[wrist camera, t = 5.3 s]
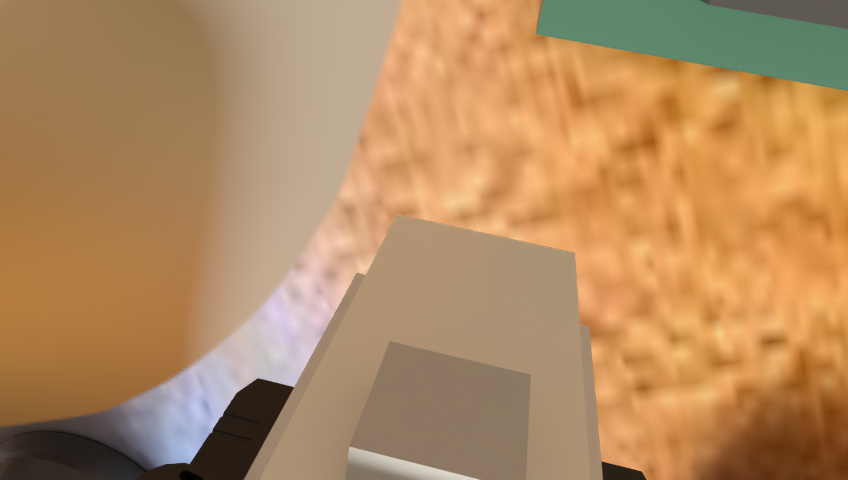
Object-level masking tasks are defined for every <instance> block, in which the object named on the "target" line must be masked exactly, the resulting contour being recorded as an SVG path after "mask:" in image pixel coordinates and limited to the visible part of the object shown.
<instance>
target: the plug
mask: <svg viewBox="0 0 848 480" xmlns="http://www.w3.org/2000/svg"><path fill="white" fill-rule="evenodd" d="M260 480H590V467H589V452H588V438H587V423H586V409H585V394H584V380H583V365H582V351H581V336H580V321H579V307H578V292H577V278H576V263H575V253H573V252H568V251H564V250H559V249H555V248H550V247H546V246H541V245H537V244H532V243H527V242H523V241H518V240H514V239H509V238H505V237H500V236H495V235H491V234H486V233H482V232H477V231H473V230H468V229H464V228H459V227H454V226H450V225H445V224H441V223H436V222H432V221H427V220H423V219H418V218H413V217H409V216H404V215H400V214H397V216H396V218H395V220H394V221H393V223H392V225H391V227H390V229H389V231H388V233H387V235H386V237H385V239H384V241H383V243H382V245H381V247H380V248H379V250H378V252H377V254H376V256H375V258H374V260H373V262H372V264H371V266H370V268H369V270H368V272H367V273H366V275H365V277H364V279H363V281H362V283H361V285H360V287H359V289H358V291H357V293H356V295H355V297H354V299H353V300H352V302H351V304H350V306H349V308H348V310H347V312H346V314H345V316H344V318H343V320H342V322H341V324H340V326H339V327H338V329H337V331H336V333H335V335H334V337H333V339H332V341H331V343H330V345H329V347H328V349H327V351H326V352H325V354H324V356H323V358H322V360H321V362H320V364H319V366H318V368H317V370H316V372H315V374H314V376H313V378H312V379H311V381H310V383H309V385H308V387H307V389H306V391H305V393H304V395H303V397H302V399H301V401H300V403H299V405H298V406H297V408H296V410H295V412H294V414H293V416H292V418H291V420H290V422H289V424H288V426H287V428H286V430H285V431H284V433H283V435H282V437H281V439H280V441H279V443H278V445H277V447H276V449H275V451H274V453H273V455H272V457H271V458H270V460H269V462H268V464H267V466H266V468H265V470H264V472H263V474H262V476H261V478H260Z"/></svg>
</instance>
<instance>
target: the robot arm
mask: <svg viewBox="0 0 848 480" xmlns="http://www.w3.org/2000/svg"><path fill="white" fill-rule="evenodd" d="M364 277H365V275H363V274H359V273H357V274H356V275H355V277H354V279H353V281H352V283H351V285H350V286H349V288H348V290H347V292H346V294H345V296H344V297H343V299H342V301H341V303H340V305H339V307H338V308H337V310H336V312H335V314H334V316H333V317H332V319H331V321H330V323H329V325H328V327H327V328H326V330H325V332H324V334H323V336H322V338H321V339H320V341H319V343H318V345H317V347H316V349H315V350H314V352H313V354H312V356H311V358H310V360H309V361H308V363H307V365H306V367H305V369H304V371H303V372H302V374H301V376H300V378H299V380H298V382H297V383H296V385H295V387H291V386H287V385H283V384H279V383H275V382H271V381H267V380H263V379H259V378H258V379H256V380H255V381H253V382H252V383H250V384H249V385H248V386H246V387H245V388H243V389H242V390H240V391H239V392H238V393H236V395H235V396H234V398H233V400H232V401H231V403H230V404H229V406H228V407H227V409H226V410H225V412H224V414H223V417H221V418H220V419H219V421H218V422H217V424H216V425H215V427H214V428H213V431H212V433H210V434H209V436H208V437H207V439H206V440H205V442H204V443H203V445H202V446H201V448H200V449H199V451H198V452H197V454H196V455H195V457H194V459H193V460H192V462H191V463H190V464H187V463H177V464H166V465H163V466H160V467H157V468H154V469H151V470H149V471H147V472H145V471H143V470H142V469H141V468H140V467H138V466H137V465H136V464H134V463H133V462H131V461H130V460H128V459H127V458H125V457H124V456H122V455H120V454H118V453H117V452H115V451H113V450H111V449H109V448H107V447H105V446H103V445H100V444H98V443H95V442H93V441H90V440H87V439H84V438H81V437H77V436H74V435H69V434H64V433H57V432H30V433H25V434H21V435H18V436H15V437H12V438H10V439H8V440H7V441H5V442H4V443H3V444H1V445H0V480H260V478H261V476H262V474H263V472H264V470H265V468H266V466H267V464H268V462H269V460H270V458H271V457H272V455H273V453H274V451H275V449H276V447H277V445H278V443H279V441H280V439H281V437H282V435H283V433H284V431H285V430H286V428H287V426H288V424H289V422H290V420H291V418H292V416H293V414H294V412H295V410H296V408H297V406H298V405H299V403H300V401H301V399H302V397H303V395H304V393H305V391H306V389H307V387H308V385H309V383H310V381H311V379H312V378H313V376H314V374H315V372H316V370H317V368H318V366H319V364H320V362H321V360H322V358H323V356H324V354H325V352H326V351H327V349H328V347H329V345H330V343H331V341H332V339H333V337H334V335H335V333H336V331H337V329H338V327H339V326H340V324H341V322H342V320H343V318H344V316H345V314H346V312H347V310H348V308H349V306H350V304H351V302H352V300H353V299H354V297H355V295H356V293H357V291H358V289H359V287H360V285H361V283H362V281H363V279H364ZM580 336H581V351H582V365H583V380H584V394H585V409H586V423H587V438H588V452H589V467H590V480H646V478H645V476H644V475H643V473H642V471H638V470H634V469H630V468H625V467H621V466H617V465H613V464H609V463H605V462H601V452H600V441H599V430H598V419H597V408H596V397H595V386H594V375H593V364H592V353H591V342H590V331H589V326H586V325H582V324H580Z"/></svg>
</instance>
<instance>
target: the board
mask: <svg viewBox="0 0 848 480" xmlns="http://www.w3.org/2000/svg"><path fill="white" fill-rule="evenodd" d="M536 34H538V35H543V36H549V37H554V38H560V39H565V40H571V41H576V42H582V43H587V44H593V45H598V46H604V47H609V48H615V49H620V50H626V51H631V52H637V53H642V54H648V55H653V56H659V57H664V58H670V59H675V60H681V61H686V62H692V63H697V64H703V65H708V66H714V67H720V68H725V69H731V70H736V71H742V72H747V73H753V74H758V75H764V76H769V77H775V78H780V79H786V80H791V81H797V82H802V83H808V84H813V85H819V86H824V87H830V88H835V89H841V90H846V91H848V0H543V1H542V6H541V10H540V15H539V19H538V24H537V28H536Z"/></svg>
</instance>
